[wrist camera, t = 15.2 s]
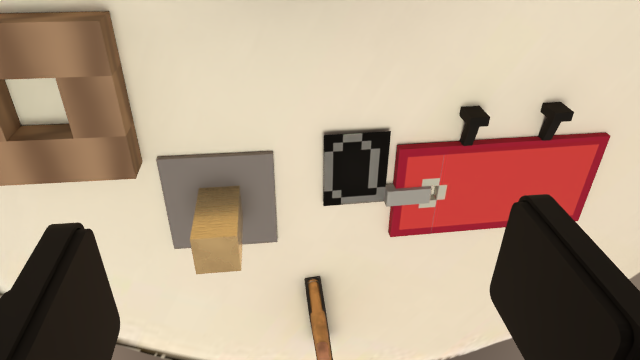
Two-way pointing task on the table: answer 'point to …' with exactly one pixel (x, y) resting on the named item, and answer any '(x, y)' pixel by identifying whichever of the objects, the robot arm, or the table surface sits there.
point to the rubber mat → (220, 171)
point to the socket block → (66, 100)
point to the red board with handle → (463, 174)
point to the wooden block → (217, 230)
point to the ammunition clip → (318, 318)
